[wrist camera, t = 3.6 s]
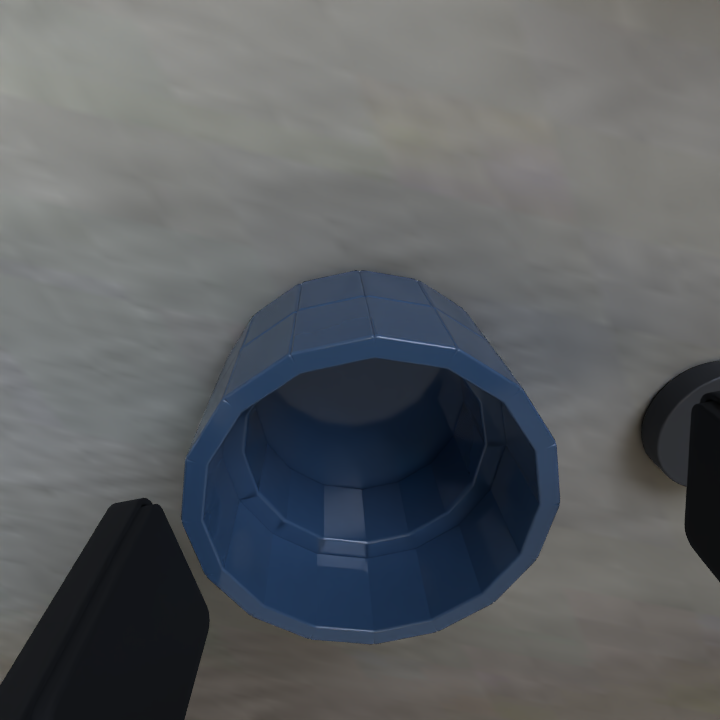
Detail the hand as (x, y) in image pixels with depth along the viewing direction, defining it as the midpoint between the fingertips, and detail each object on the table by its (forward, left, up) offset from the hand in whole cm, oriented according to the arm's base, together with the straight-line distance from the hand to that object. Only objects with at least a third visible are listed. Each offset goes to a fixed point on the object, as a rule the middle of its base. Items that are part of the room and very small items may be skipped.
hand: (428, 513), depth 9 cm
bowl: (-1, 0, -5) cm, 5 cm away
